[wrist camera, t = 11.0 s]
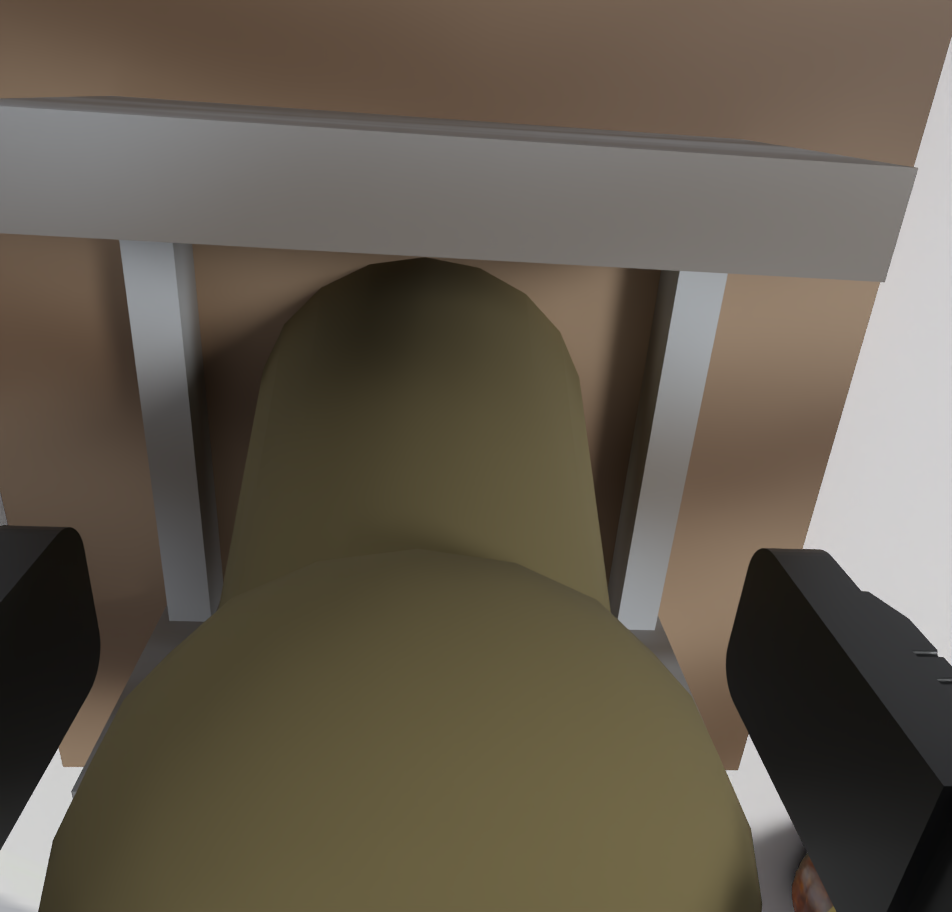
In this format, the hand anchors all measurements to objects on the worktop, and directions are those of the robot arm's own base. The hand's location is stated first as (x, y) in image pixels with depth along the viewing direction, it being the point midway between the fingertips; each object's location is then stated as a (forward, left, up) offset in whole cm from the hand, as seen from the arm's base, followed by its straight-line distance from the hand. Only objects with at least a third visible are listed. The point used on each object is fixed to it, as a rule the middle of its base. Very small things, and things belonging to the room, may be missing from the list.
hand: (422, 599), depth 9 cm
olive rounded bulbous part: (0, 0, -6) cm, 6 cm away
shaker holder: (0, 0, -7) cm, 7 cm away
